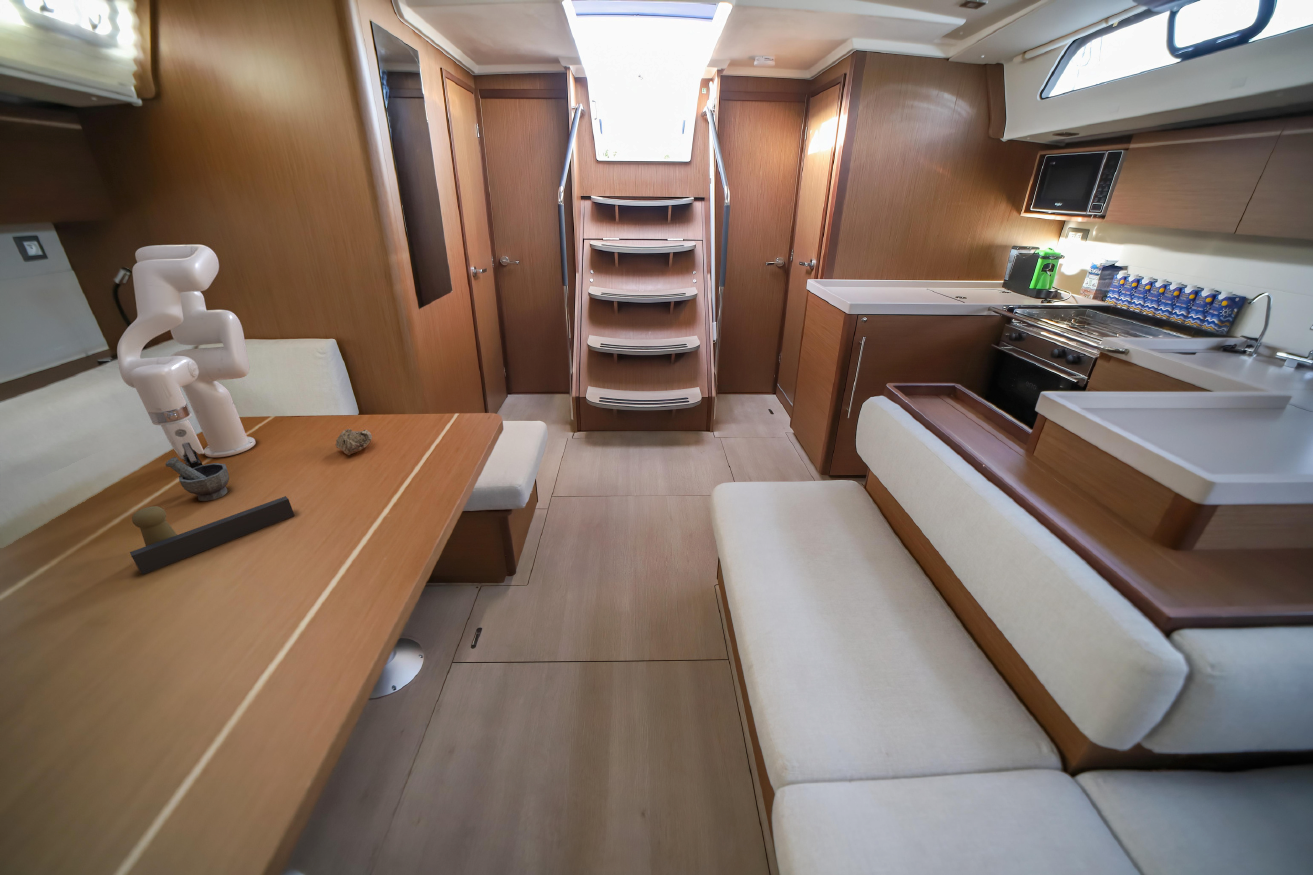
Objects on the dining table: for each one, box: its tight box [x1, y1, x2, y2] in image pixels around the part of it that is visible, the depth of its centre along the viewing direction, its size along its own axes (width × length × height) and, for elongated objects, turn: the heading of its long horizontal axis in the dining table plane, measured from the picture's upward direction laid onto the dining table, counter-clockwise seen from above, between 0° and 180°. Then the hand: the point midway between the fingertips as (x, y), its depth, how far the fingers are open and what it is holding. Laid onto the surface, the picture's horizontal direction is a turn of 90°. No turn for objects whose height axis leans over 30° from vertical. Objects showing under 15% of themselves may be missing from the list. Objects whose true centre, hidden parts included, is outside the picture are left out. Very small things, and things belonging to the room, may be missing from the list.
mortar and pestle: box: [164, 456, 230, 502], centre depth 129 cm, size 11×9×12 cm
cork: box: [131, 505, 178, 547], centre depth 109 cm, size 6×6×11 cm
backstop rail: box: [129, 495, 295, 576], centre depth 113 cm, size 2×28×5 cm, turn 140°
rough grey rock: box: [335, 428, 373, 456], centre depth 155 cm, size 11×7×10 cm
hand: (199, 475), depth 134 cm, fingers closed
